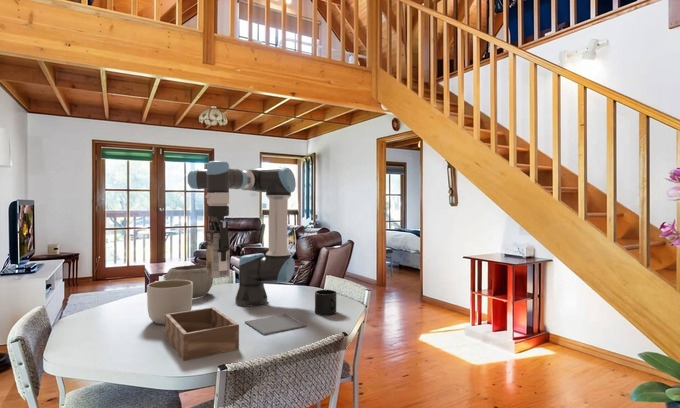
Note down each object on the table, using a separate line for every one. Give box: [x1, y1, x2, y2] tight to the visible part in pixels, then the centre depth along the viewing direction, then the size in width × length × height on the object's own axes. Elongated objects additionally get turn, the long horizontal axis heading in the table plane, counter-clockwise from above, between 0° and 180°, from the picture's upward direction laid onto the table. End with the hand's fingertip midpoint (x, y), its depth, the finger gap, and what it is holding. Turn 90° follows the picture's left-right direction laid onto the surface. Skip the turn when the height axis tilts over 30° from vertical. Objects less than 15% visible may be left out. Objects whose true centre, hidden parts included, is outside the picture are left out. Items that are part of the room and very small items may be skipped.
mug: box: [314, 289, 337, 316], centre depth 173 cm, size 9×12×9 cm
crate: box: [164, 306, 240, 361], centre depth 136 cm, size 26×17×8 cm, turn 35°
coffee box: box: [205, 229, 231, 279], centre depth 141 cm, size 9×6×16 cm
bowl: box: [164, 264, 214, 300], centre depth 203 cm, size 23×23×15 cm
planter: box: [146, 279, 193, 326], centre depth 160 cm, size 17×17×15 cm
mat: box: [244, 313, 308, 336], centre depth 157 cm, size 18×18×1 cm
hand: (218, 268), depth 141 cm, fingers closed on coffee box, 9 cm apart
